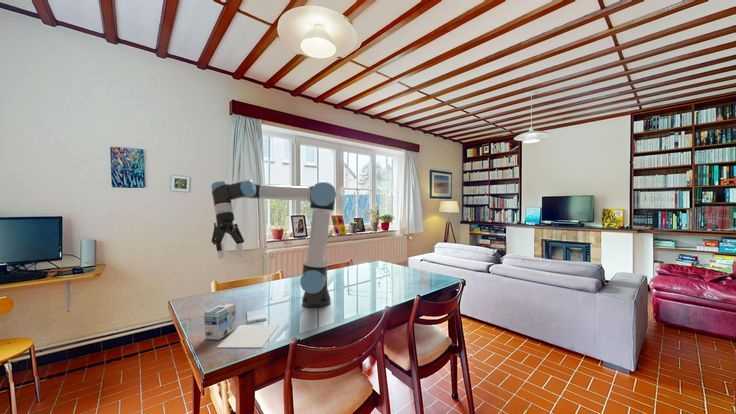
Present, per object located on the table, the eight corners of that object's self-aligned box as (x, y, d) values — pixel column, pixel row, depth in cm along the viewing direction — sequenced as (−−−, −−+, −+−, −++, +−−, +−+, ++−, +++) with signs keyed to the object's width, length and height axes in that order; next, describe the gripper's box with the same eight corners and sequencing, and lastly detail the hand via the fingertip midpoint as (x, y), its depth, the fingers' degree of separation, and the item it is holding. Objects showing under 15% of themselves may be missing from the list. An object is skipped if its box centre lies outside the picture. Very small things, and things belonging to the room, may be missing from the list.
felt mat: (278, 325, 122) (278, 325, 122) (262, 347, 103) (262, 347, 103) (240, 325, 122) (240, 325, 122) (216, 347, 103) (216, 347, 103)
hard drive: (246, 311, 136) (247, 320, 124) (264, 308, 139) (266, 317, 128) (246, 314, 136) (247, 324, 124) (264, 312, 139) (266, 321, 128)
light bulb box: (219, 340, 108) (217, 312, 108) (204, 339, 109) (203, 312, 109) (237, 328, 118) (236, 303, 118) (223, 327, 120) (222, 302, 120)
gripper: (233, 218, 145) (240, 258, 141) (197, 212, 120) (204, 261, 116) (246, 214, 144) (254, 254, 140) (213, 208, 119) (220, 256, 116)
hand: (231, 257), depth 128 cm, fingers open, 13 cm apart
